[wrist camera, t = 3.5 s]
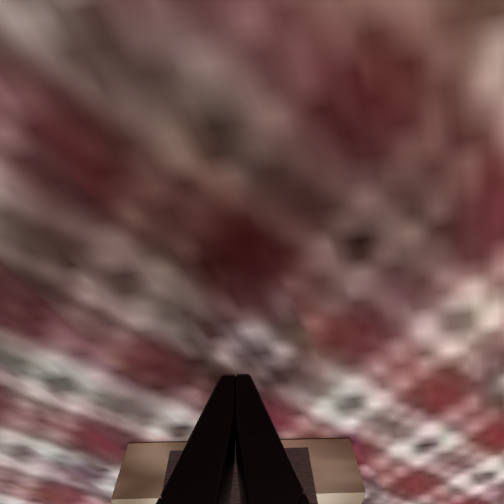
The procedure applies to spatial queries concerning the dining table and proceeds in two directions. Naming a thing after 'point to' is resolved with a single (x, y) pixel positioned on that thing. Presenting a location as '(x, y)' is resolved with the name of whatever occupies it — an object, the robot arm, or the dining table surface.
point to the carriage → (296, 456)
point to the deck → (320, 450)
